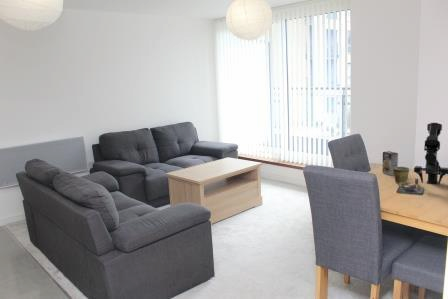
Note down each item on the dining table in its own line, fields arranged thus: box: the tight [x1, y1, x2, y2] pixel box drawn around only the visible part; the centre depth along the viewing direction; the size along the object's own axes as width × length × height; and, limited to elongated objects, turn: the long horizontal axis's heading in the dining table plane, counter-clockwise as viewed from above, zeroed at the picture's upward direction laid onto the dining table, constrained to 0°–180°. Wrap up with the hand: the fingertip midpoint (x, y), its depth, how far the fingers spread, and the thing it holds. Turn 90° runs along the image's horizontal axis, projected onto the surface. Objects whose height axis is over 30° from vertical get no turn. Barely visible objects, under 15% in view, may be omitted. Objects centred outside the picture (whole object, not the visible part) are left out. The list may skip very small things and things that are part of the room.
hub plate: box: [395, 183, 424, 196], centre depth 244 cm, size 14×14×3 cm
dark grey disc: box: [403, 177, 419, 189], centre depth 244 cm, size 9×7×5 cm
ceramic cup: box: [393, 166, 410, 185], centre depth 263 cm, size 13×10×10 cm
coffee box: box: [382, 150, 399, 176], centre depth 287 cm, size 9×6×16 cm
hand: (430, 183), depth 241 cm, fingers open, 9 cm apart
